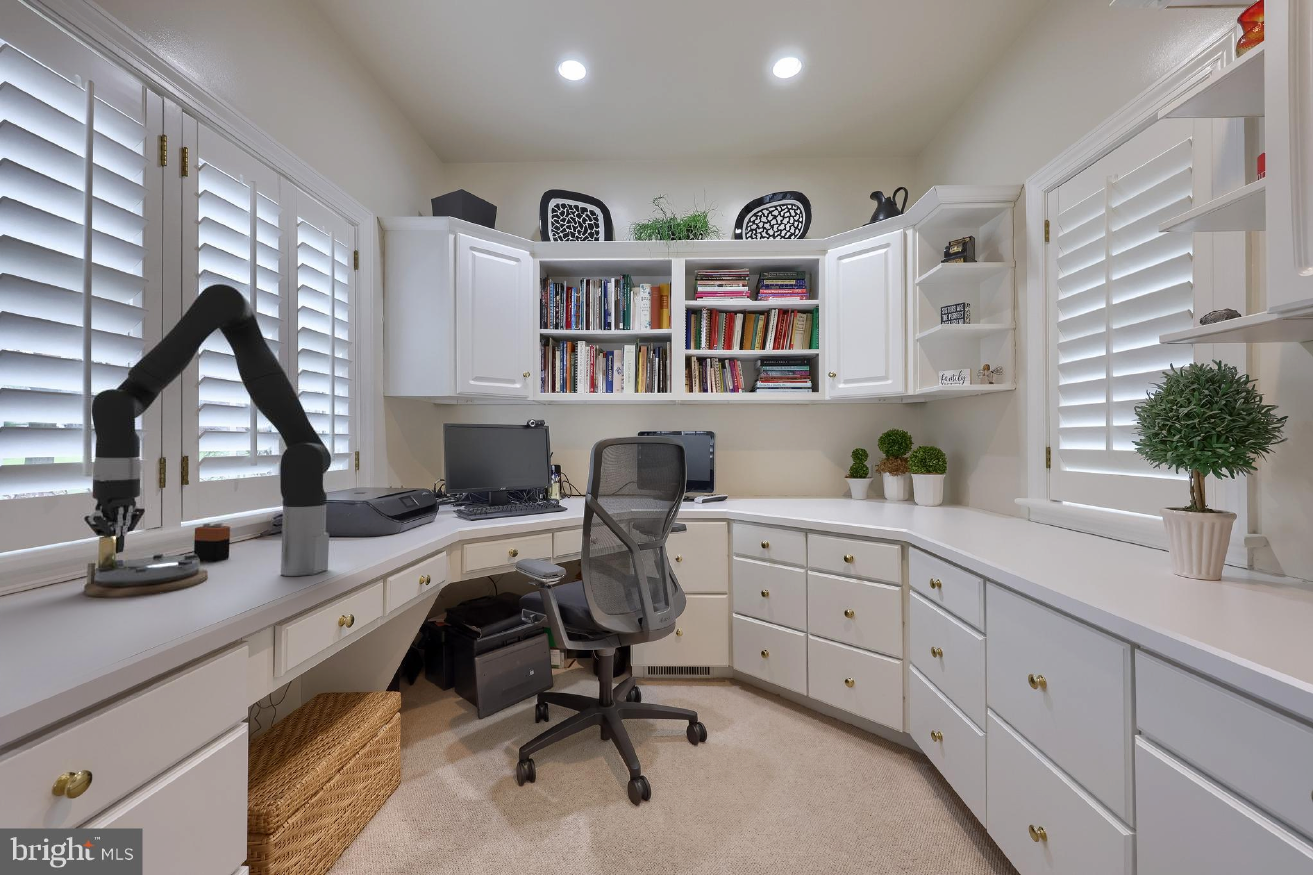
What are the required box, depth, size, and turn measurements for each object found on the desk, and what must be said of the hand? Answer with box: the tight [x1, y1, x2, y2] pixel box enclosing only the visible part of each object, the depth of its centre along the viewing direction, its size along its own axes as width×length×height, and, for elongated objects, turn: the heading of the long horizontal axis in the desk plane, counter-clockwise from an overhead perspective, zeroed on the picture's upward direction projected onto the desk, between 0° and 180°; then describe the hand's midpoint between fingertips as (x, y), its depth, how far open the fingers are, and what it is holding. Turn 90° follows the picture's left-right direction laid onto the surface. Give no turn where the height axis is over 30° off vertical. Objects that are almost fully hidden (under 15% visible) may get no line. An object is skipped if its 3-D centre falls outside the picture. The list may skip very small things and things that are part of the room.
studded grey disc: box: [95, 536, 201, 587], centre depth 118 cm, size 17×17×10 cm
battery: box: [193, 522, 231, 563], centre depth 142 cm, size 4×7×10 cm, turn 85°
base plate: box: [83, 562, 209, 599], centre depth 118 cm, size 20×20×6 cm
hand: (115, 552), depth 117 cm, fingers closed
